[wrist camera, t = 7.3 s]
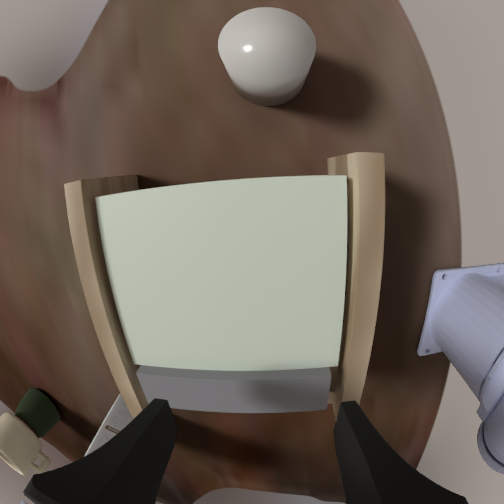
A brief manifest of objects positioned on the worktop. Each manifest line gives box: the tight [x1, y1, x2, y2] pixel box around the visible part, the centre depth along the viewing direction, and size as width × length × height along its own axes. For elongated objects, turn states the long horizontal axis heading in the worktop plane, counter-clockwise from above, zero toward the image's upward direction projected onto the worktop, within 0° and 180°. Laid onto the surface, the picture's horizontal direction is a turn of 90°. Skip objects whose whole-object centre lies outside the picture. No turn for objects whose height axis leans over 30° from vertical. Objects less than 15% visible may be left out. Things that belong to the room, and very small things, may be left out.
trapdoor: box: [95, 175, 347, 413], centre depth 14 cm, size 13×12×2 cm
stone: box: [218, 7, 316, 106], centre depth 13 cm, size 5×5×5 cm
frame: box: [64, 152, 385, 420], centre depth 16 cm, size 15×16×7 cm
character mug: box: [0, 388, 60, 476], centre depth 21 cm, size 11×7×13 cm, turn 60°
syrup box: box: [84, 393, 135, 457], centre depth 18 cm, size 6×6×14 cm
